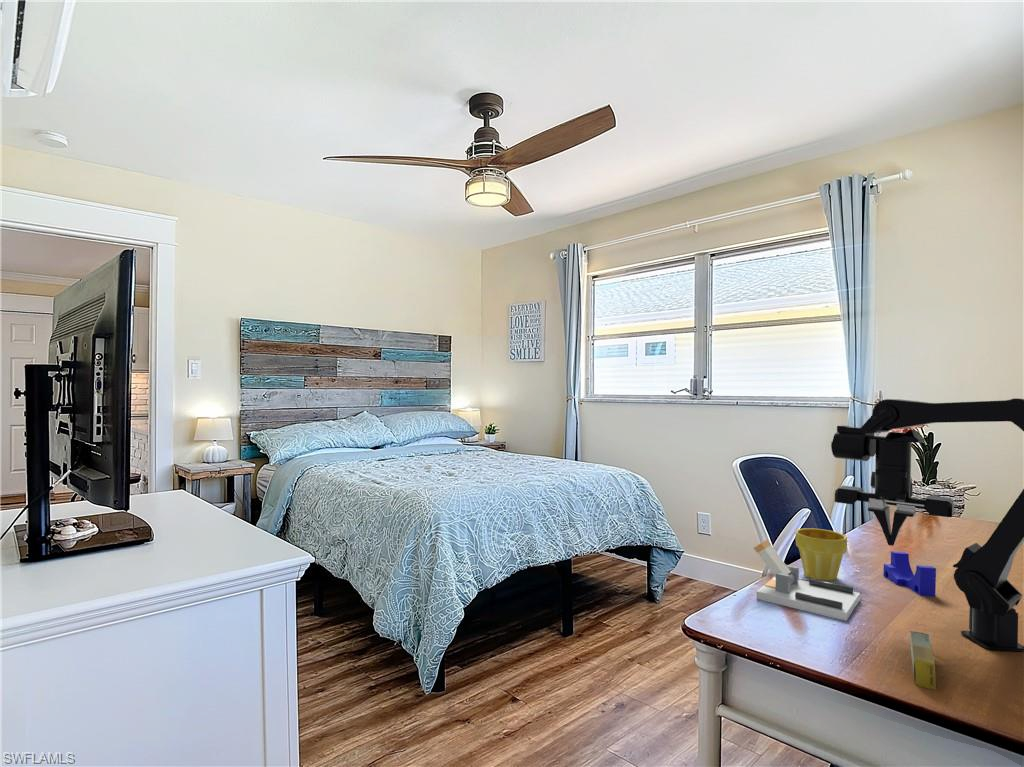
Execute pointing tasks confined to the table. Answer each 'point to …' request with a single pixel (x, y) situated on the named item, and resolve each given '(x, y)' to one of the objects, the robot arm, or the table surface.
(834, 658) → the table surface
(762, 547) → the lever
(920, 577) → the cable clip
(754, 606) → the table surface
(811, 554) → the plant pot
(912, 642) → the medication box
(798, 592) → the white base plate
